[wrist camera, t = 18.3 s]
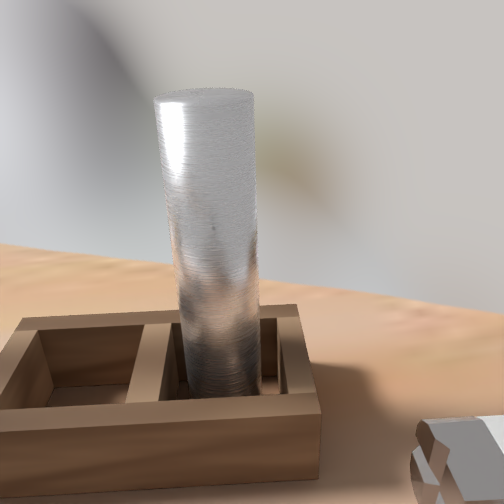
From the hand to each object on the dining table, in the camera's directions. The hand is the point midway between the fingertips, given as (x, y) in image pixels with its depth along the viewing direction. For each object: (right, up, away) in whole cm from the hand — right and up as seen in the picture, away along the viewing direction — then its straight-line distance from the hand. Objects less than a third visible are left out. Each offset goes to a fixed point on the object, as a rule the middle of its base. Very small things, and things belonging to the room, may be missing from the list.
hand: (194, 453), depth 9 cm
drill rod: (0, -5, +16) cm, 17 cm away
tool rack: (-4, -5, +16) cm, 17 cm away
